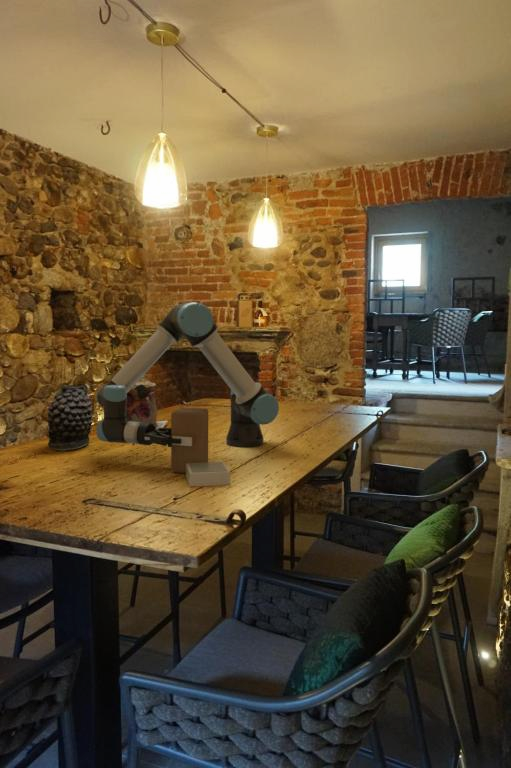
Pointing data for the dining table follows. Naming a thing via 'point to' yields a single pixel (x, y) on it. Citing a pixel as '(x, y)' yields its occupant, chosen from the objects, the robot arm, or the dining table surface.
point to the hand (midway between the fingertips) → (200, 437)
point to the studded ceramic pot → (70, 418)
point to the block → (189, 425)
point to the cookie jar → (143, 403)
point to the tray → (207, 474)
